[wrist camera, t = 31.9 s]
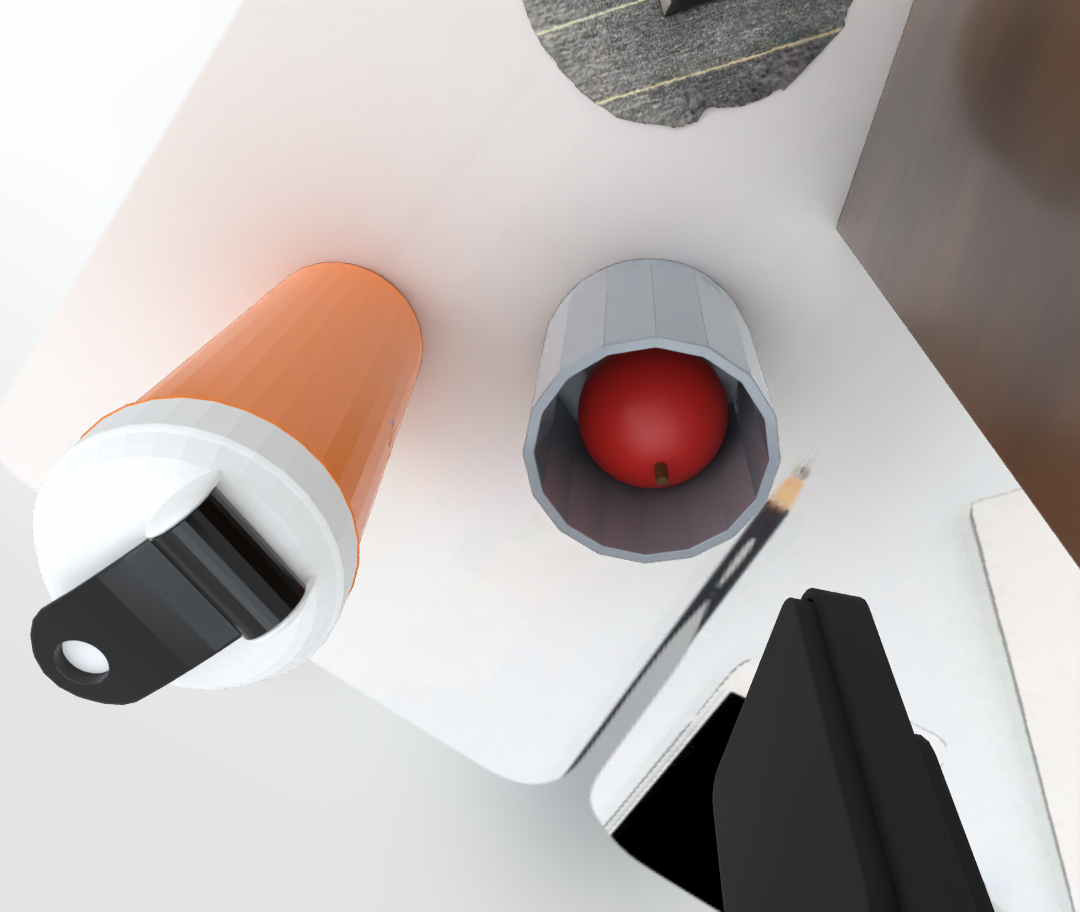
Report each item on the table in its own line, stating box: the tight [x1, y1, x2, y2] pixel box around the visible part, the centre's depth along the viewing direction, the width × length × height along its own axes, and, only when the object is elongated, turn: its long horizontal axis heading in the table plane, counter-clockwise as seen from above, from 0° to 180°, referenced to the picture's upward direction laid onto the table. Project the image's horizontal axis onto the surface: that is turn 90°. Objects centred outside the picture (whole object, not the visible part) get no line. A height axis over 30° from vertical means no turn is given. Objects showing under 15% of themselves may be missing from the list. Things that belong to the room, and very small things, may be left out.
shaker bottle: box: [30, 262, 423, 705], centre depth 34 cm, size 9×9×20 cm
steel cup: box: [523, 259, 781, 563], centre depth 38 cm, size 9×9×9 cm
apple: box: [578, 347, 728, 489], centre depth 39 cm, size 6×6×7 cm
